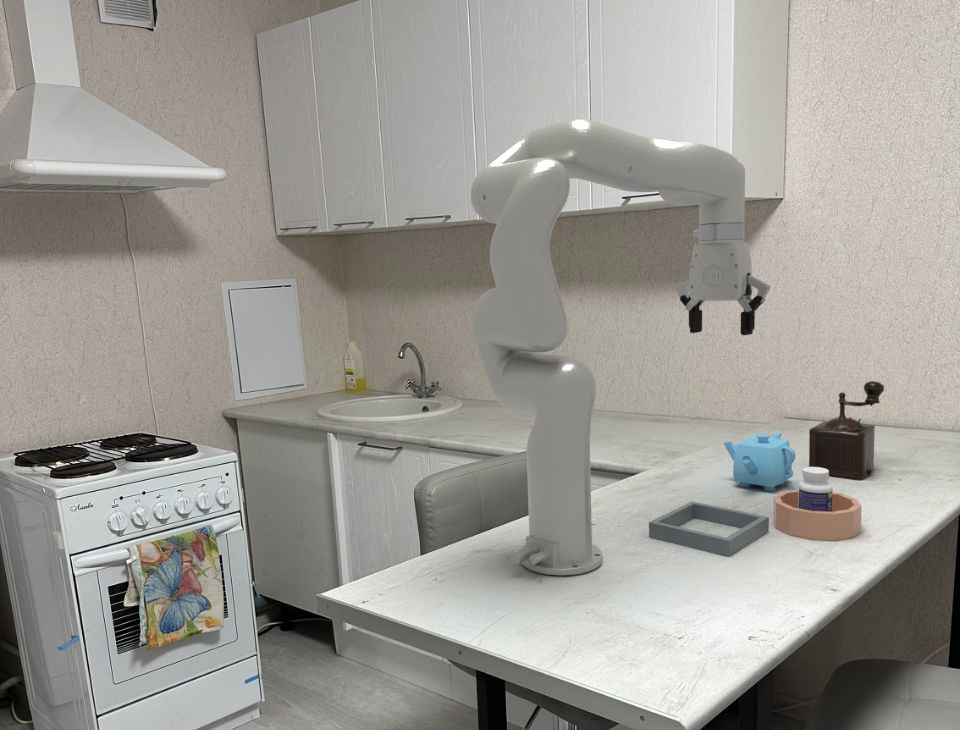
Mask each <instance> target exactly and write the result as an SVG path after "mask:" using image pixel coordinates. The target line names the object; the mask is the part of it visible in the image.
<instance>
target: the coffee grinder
mask: <svg viewBox="0 0 960 730" xmlns="http://www.w3.org/2000/svg"><path fill="white" fill-rule="evenodd" d="M863 390H864V392H865V394H866V398H865V399H864V401H861V402H860V401H849V400H848V401H847V399H846V393H845V392H841V391H840V392H839V394H838V397H839V398H838V403H839V415H838V417H834V418H831V419H829V420H828V421H822V422H820V423H819V424H817V425H815V426H813V427H811V428H810V429H809V430H808V431H809V438H808V441H809V443H808V444H809V445H808V446H809V447H808V448H809V449H808V456H809V457H808V460H809V461H808V467H820V468H825V469H827V470H828V471H829V477H832V478H840V479H846V480H856V481H862V480H863V479H865V478H866V477H868V476H870V475H871V474H872V473H873V471H874V468H875V464H874V460H875V430H876V427H875V425H874V424H867V423H866V424H864V423H861V420H862V418H859V419H858V420H857V419H854V418H852V417H847V416H846V411H845V409H846V408H845V406H850V407H852V406H853V407H865V406H870V407H872V406H873V405H875V404H880V403H881V402H880V396H881V395H882V394H883V392H884V391H885V385H884V384H883V383H881V382H878V381H875V380H872V381H871V380H869V381H868V382H865V383H864V385H863Z"/></svg>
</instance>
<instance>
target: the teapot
mask: <svg viewBox="0 0 960 730" xmlns="http://www.w3.org/2000/svg"><path fill="white" fill-rule="evenodd" d="M782 434H783V431H782V430H777V431H776V432H775V433H774V435H773V437H770V435H768V434H766V433H764V434H763V433H759V434H757V435H753V436H750V437H748V438H745V439H743V440H740V441H739V442H737V443H736V445H735V444H734V443H732V441H725V442H724V443H723V445H724V447H725V448H726V450H727V452H728V454H729V455H730V458H731V459H732V461H733V467H732V469H733V471H732V473H733V479H734V482H737V483H740V484H739V487H741V488H750V487H751V486H752V485H755V486H761V487H763V488H764V491H765V492H775V491H776V488H775V487H776V486H785V485H786V484H785V482H787V480H788V479H791V478H793V476H794V470H793V468H792V467H793V466H792V465H793V464H794V462H795V459H796V452H795V450H794V449H793V448H792V447H791V445H790V441H789V440H788V439H781V437H782Z"/></svg>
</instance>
